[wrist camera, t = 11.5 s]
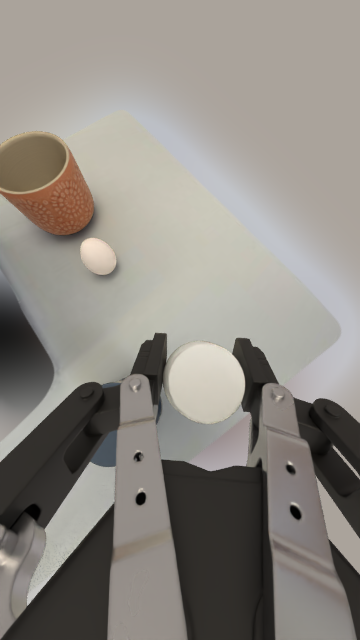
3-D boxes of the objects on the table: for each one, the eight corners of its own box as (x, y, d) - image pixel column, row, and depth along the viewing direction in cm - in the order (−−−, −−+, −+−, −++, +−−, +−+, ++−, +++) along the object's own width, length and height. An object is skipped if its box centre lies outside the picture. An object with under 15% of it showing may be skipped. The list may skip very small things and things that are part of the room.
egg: (104, 251, 36) (84, 222, 29) (126, 263, 35) (112, 237, 28) (87, 272, 35) (63, 248, 28) (110, 286, 34) (91, 264, 27)
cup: (172, 394, 30) (167, 405, 21) (142, 451, 28) (123, 489, 19) (124, 366, 31) (100, 365, 22) (93, 418, 29) (53, 440, 20)
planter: (82, 184, 40) (46, 118, 30) (112, 222, 38) (84, 166, 27) (30, 213, 39) (-28, 155, 28) (58, 255, 36) (5, 209, 26)
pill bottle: (199, 339, 16) (213, 313, 9) (232, 381, 16) (278, 393, 8) (158, 369, 16) (136, 370, 8) (190, 415, 15) (197, 463, 7)
